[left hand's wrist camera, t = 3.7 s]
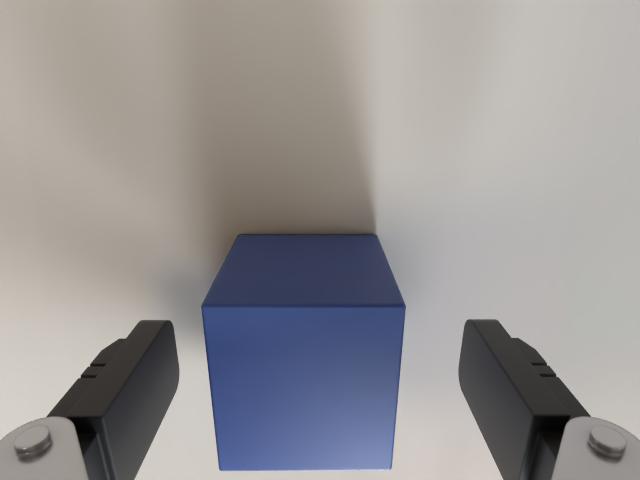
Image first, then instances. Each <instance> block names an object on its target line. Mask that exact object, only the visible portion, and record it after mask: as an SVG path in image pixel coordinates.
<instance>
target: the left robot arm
mask: <svg viewBox="0 0 640 480" xmlns="http://www.w3.org/2000/svg"><path fill="white" fill-rule="evenodd" d="M178 382H179V363H178V356H177V349H176V342H175V335H174V328H173V324H172V322H171V321H170V320H141V321H140V322H139V323H138V324H137V325H136V326H135V328H134V329H133V330H132V332H131V333H130V334H129V335H128V337H127V338H126V339H118V340H117V341H115V342H114V343H112V344H111V345H109V346H108V347H106V348H105V349H103V350H102V351H101V352H100V353H99V354H98V356H97V357H96V358H95V359H94V360H93V362H92V363H91V364H90V367H88V368H87V369H86V370H85V371H84V372H83V374H82V375H81V378H78V380H77V381H76V382H75V383H74V384H73V386H72V387H71V388H70V389H69V390H68V392H67V393H66V394H65V395H64V396H63V398H62V399H61V400H60V401H59V402H58V404H57V405H56V406H55V407H54V408H53V410H52V411H51V412H50V413H49V414H48V416H47V417H45V418H41V419H37V420H34V421H31V422H29V423H26V424H24V425H22V426H20V427H18V428H16V429H15V430H13V431H12V432H10V433H9V434H7V435H6V436H5V437H4V438H2V439H1V440H0V480H134V479H135V477H136V475H137V473H138V471H139V468H140V466H141V464H142V462H143V460H144V458H145V456H146V454H147V452H148V450H149V447H150V445H151V443H152V441H153V439H154V437H155V435H156V433H157V431H158V428H159V426H160V424H161V422H162V420H163V418H164V416H165V414H166V412H167V410H168V407H169V405H170V403H171V401H172V399H173V397H174V395H175V393H176V390H177V387H178ZM459 382H460V386H461V390H462V392H463V394H464V396H465V399H466V401H467V403H468V405H469V407H470V409H471V411H472V414H473V416H474V418H475V420H476V422H477V424H478V426H479V428H480V431H481V433H482V435H483V437H484V439H485V441H486V443H487V445H488V448H489V450H490V452H491V454H492V456H493V458H494V460H495V462H496V465H497V467H498V469H499V471H500V473H501V475H502V477H503V480H640V440H639V439H638V438H636V437H635V436H634V435H633V434H631V433H630V432H628V431H627V430H625V429H624V428H622V427H620V426H618V425H616V424H614V423H611V422H609V421H606V420H603V419H599V418H595V417H591V416H590V415H589V414H588V412H587V411H586V410H585V409H584V408H583V406H582V405H581V404H580V403H579V402H578V400H577V399H576V398H575V397H574V395H573V394H572V393H571V392H570V391H569V389H568V388H567V387H566V386H565V385H564V383H563V382H562V381H561V380H560V379H559V377H556V374H555V373H554V371H553V370H552V369H551V368H550V366H547V363H546V362H545V360H544V359H543V358H542V357H541V356H540V354H539V353H538V352H537V351H536V350H535V349H534V348H532V347H531V346H529V345H528V344H526V343H525V342H523V341H522V340H520V339H519V338H511V337H510V335H509V334H508V333H507V332H506V330H505V329H504V328H503V326H502V325H501V324H500V322H499V321H498V320H467V321H466V323H465V326H464V333H463V340H462V347H461V354H460V361H459Z"/></svg>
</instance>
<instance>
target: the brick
mask: <svg viewBox="0 0 640 480" xmlns="http://www.w3.org/2000/svg"><path fill="white" fill-rule="evenodd" d="M201 308H202V317H203V326H204V335H205V344H206V353H207V362H208V371H209V380H210V390H211V399H212V408H213V417H214V426H215V435H216V444H217V453H218V462H219V469H220V471H311V470H391V468H392V458H393V447H394V435H395V424H396V412H397V401H398V389H399V378H400V366H401V355H402V343H403V332H404V320H405V309H406V306H405V303H404V301H403V298H402V296H401V293H400V291H399V288H398V286H397V283H396V281H395V278H394V276H393V274H392V271H391V269H390V266H389V264H388V261H387V259H386V256H385V254H384V251H383V249H382V247H381V244H380V242H379V239H378V237H377V235H238V236H237V238H236V240H235V242H234V244H233V246H232V248H231V250H230V252H229V254H228V255H227V257H226V259H225V261H224V263H223V265H222V267H221V269H220V271H219V273H218V275H217V277H216V279H215V281H214V282H213V284H212V286H211V288H210V290H209V292H208V294H207V296H206V298H205V300H204V302H203V304H202V306H201Z"/></svg>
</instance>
